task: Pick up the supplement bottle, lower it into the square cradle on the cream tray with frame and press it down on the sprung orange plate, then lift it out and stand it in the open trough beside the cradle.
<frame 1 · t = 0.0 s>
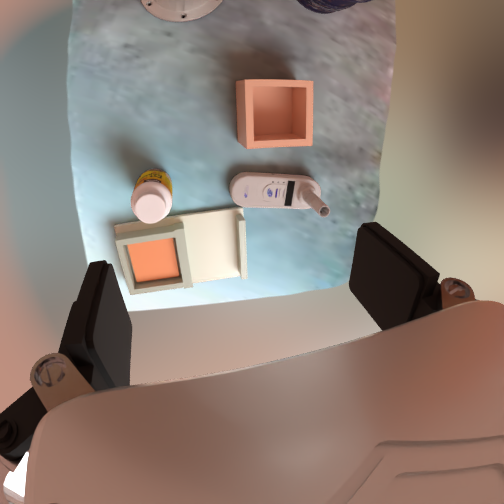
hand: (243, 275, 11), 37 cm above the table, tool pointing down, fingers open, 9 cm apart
supplement bottle: (154, 184, 44), on the table
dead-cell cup: (267, 110, 43), on the table
cream tray with frame: (182, 250, 51), on the table
cradle plate: (153, 258, 49), point 1 cm above the table, slide at -1.0 cm
electronic device: (273, 187, 50), on the table
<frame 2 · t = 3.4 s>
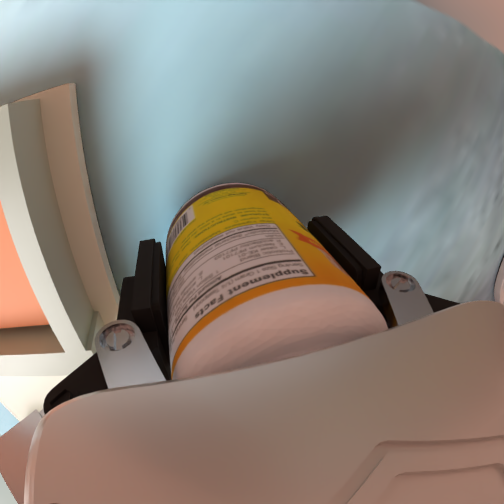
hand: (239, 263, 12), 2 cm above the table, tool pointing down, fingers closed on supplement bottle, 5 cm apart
supplement bottle: (228, 236, 14), on the table, touching gripper
cream tray with frame: (20, 321, 13), on the table
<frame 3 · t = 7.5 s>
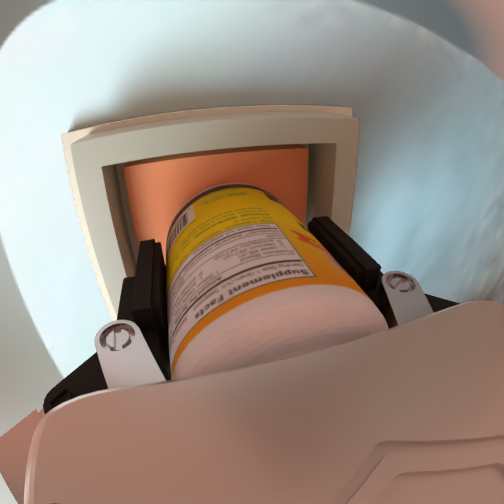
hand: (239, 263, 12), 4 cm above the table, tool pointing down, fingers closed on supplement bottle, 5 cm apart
supplement bottle: (228, 236, 14), point 2 cm above the table, touching cradle plate, gripper
cream tray with frame: (225, 301, 17), on the table
cradle plate: (222, 233, 14), point 1 cm above the table, slide at -1.2 cm, touching supplement bottle, cream tray with frame
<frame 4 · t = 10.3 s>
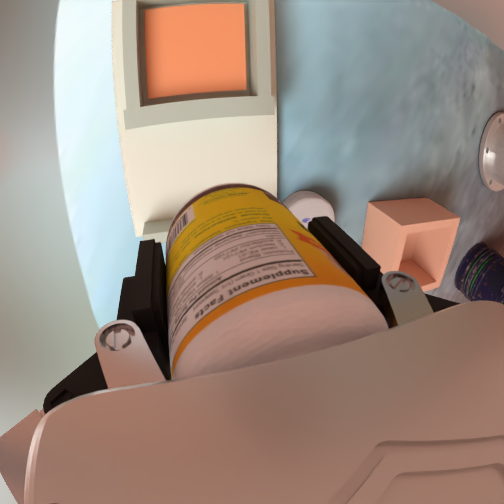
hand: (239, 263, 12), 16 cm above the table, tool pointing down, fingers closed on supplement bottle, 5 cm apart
supplement bottle: (228, 236, 14), point 14 cm above the table, touching gripper
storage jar: (471, 265, 44), on the table
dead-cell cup: (393, 235, 34), on the table
cream tray with frame: (196, 107, 23), on the table
cradle plate: (195, 48, 19), point 1 cm above the table, slide at -1.2 cm, touching cream tray with frame
electronic device: (289, 255, 33), on the table
when the fingers open (4 cm above the table, at t = 12.4 s): supplement bottle stays where it is, resting on cream tray with frame.
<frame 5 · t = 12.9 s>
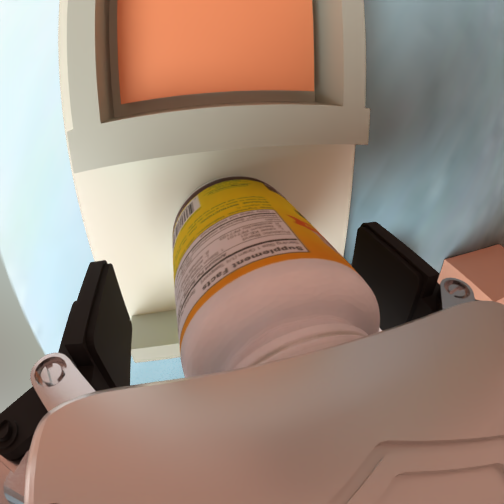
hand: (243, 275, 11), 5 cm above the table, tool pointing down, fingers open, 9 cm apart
supplement bottle: (230, 226, 14), point 1 cm above the table, touching cream tray with frame
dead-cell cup: (460, 293, 24), on the table
cream tray with frame: (216, 119, 12), on the table
cradle plate: (216, 5, 9), point 1 cm above the table, slide at -1.2 cm, touching cream tray with frame
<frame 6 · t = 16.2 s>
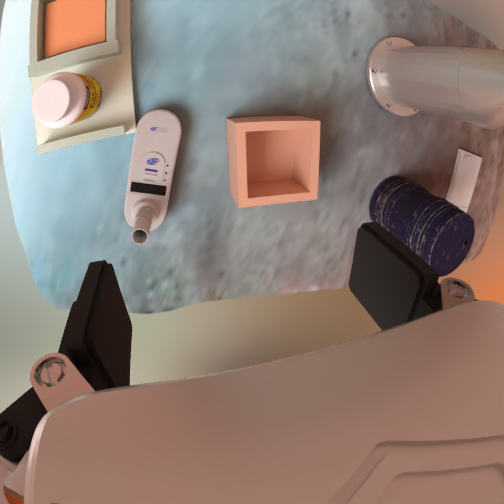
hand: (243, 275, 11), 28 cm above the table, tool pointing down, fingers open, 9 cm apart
supplement bottle: (82, 97, 28), point 1 cm above the table, touching cream tray with frame
hard drive: (459, 180, 49), on the table
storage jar: (391, 202, 47), on the table
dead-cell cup: (264, 152, 37), on the table
cream tray with frame: (78, 59, 26), on the table
cradle plate: (75, 21, 22), point 1 cm above the table, slide at -1.2 cm, touching cream tray with frame
electronic device: (152, 167, 35), on the table
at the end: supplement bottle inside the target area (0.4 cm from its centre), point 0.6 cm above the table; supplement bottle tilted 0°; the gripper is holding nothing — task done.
